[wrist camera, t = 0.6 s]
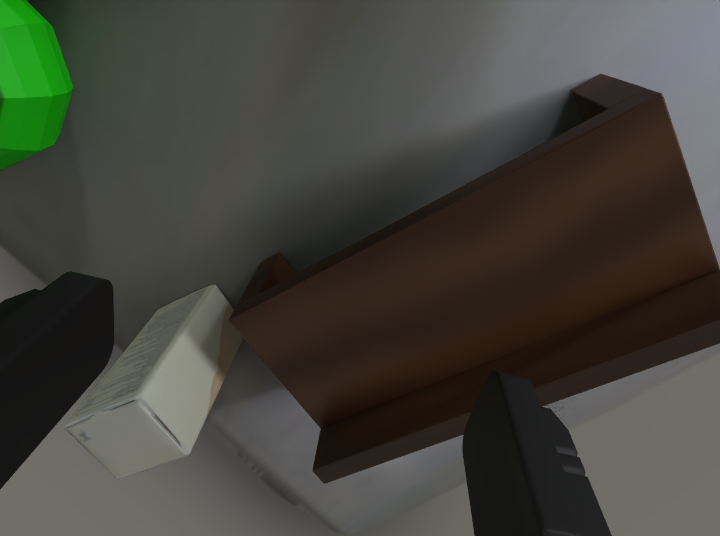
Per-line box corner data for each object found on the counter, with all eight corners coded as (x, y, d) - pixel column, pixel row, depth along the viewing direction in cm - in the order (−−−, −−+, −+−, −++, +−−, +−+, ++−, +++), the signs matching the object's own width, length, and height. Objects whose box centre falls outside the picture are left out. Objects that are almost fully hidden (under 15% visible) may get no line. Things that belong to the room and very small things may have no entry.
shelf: (260, 262, 31) (206, 356, 23) (601, 73, 24) (706, 106, 16) (343, 369, 35) (324, 484, 26) (659, 230, 28) (770, 326, 19)
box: (193, 352, 35) (111, 484, 25) (156, 306, 33) (55, 429, 24) (252, 328, 34) (191, 458, 24) (217, 280, 32) (136, 398, 22)
